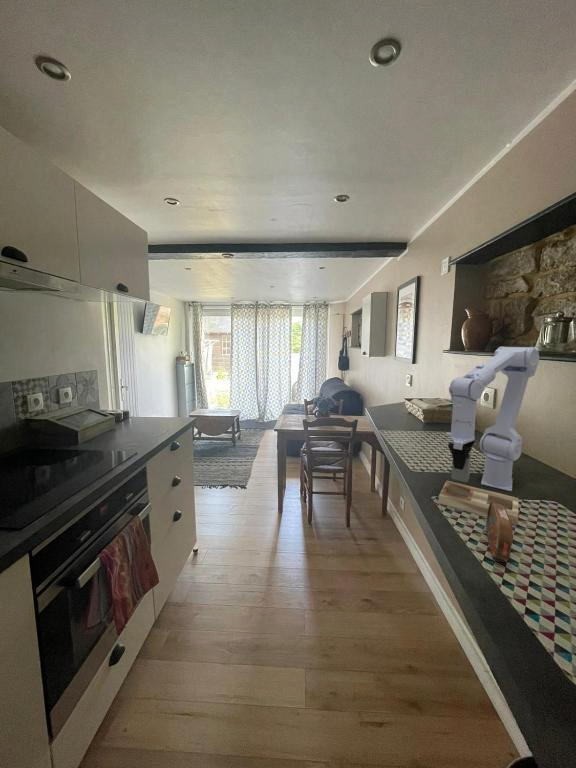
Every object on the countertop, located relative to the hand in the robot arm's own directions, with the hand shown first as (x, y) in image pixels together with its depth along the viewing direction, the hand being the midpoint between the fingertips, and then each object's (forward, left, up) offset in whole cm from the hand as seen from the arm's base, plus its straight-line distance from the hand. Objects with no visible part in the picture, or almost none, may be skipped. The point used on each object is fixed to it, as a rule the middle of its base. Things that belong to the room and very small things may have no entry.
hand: (460, 465), depth 87 cm
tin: (+17, +10, -11) cm, 23 cm away
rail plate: (0, +5, -10) cm, 12 cm away
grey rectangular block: (0, 0, -3) cm, 4 cm away
